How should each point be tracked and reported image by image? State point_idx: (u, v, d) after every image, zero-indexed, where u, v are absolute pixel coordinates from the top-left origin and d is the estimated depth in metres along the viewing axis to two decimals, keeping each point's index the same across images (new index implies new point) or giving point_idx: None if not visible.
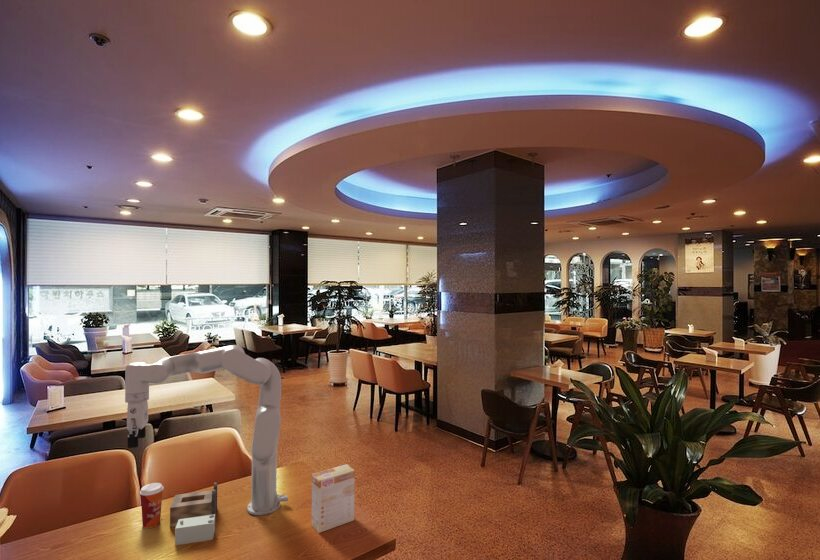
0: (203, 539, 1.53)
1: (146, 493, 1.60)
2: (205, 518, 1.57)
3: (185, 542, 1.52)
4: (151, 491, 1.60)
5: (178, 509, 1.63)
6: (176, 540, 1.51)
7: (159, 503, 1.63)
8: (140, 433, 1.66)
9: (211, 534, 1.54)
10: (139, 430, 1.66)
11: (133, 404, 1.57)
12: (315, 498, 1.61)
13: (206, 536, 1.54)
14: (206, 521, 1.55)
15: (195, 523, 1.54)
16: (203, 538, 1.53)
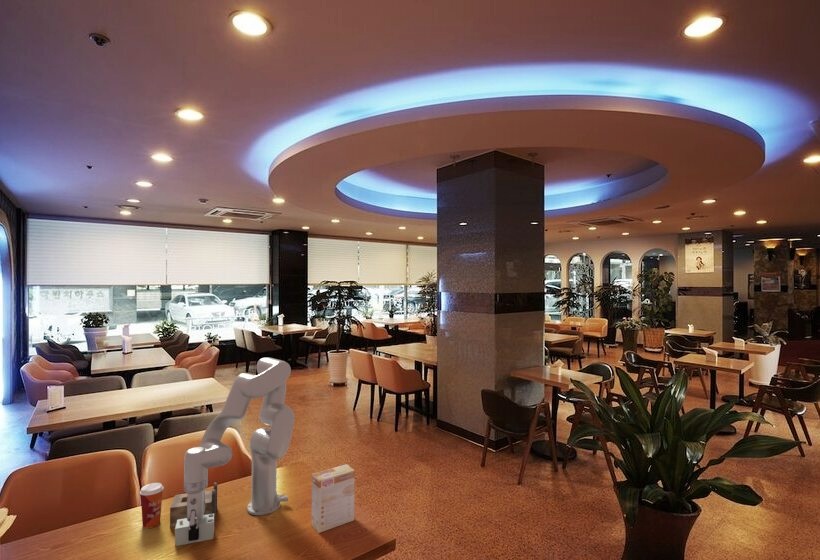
0: (203, 538, 1.53)
1: (146, 493, 1.60)
2: (204, 518, 1.57)
3: (185, 542, 1.51)
4: (151, 491, 1.60)
5: (178, 509, 1.63)
6: (176, 540, 1.50)
7: (159, 503, 1.63)
8: None
9: (211, 533, 1.54)
10: None
11: (193, 494, 1.51)
12: (315, 498, 1.61)
13: (206, 535, 1.54)
14: (206, 520, 1.55)
15: (195, 522, 1.54)
16: (203, 538, 1.53)
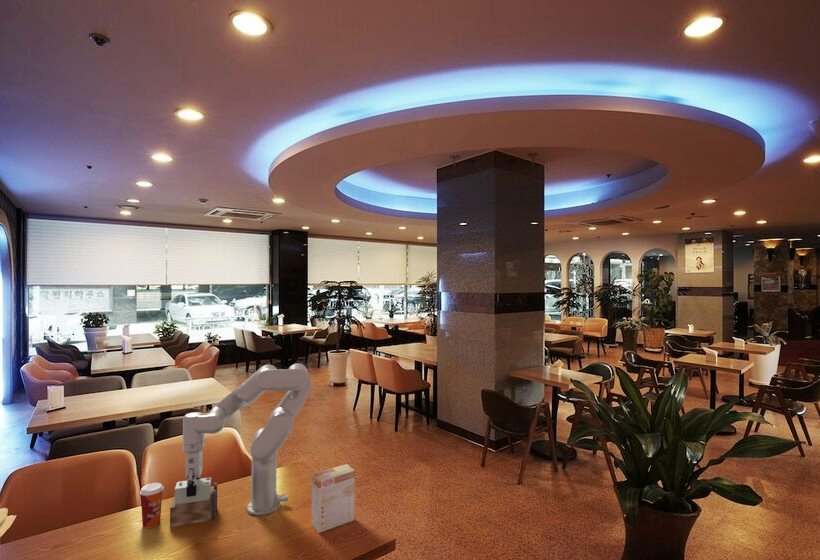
0: (201, 499, 1.67)
1: (146, 493, 1.60)
2: (202, 480, 1.70)
3: (184, 501, 1.65)
4: (151, 491, 1.60)
5: (178, 509, 1.63)
6: (176, 499, 1.64)
7: (159, 503, 1.63)
8: None
9: (208, 494, 1.68)
10: None
11: (191, 454, 1.64)
12: (315, 498, 1.61)
13: (203, 496, 1.67)
14: (203, 483, 1.69)
15: None
16: (200, 498, 1.67)
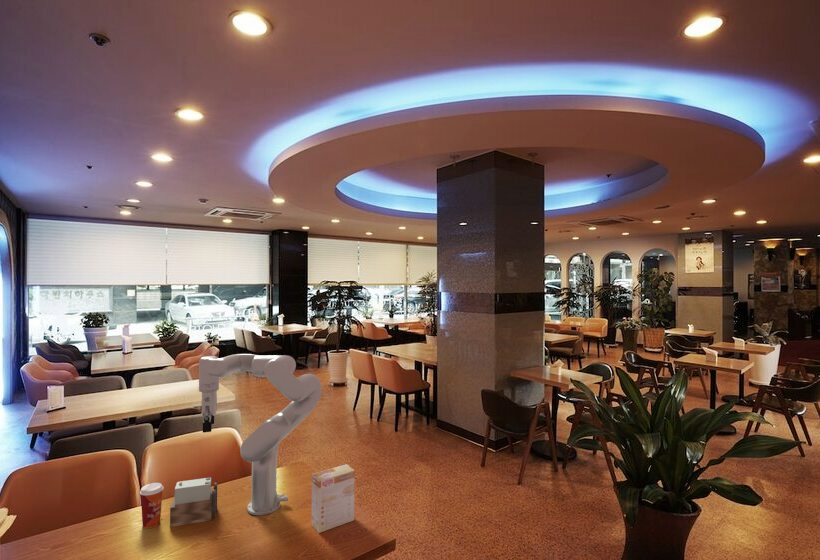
0: (201, 499, 1.67)
1: (146, 493, 1.60)
2: (202, 480, 1.70)
3: (184, 501, 1.65)
4: (151, 491, 1.60)
5: (178, 509, 1.63)
6: (176, 499, 1.64)
7: (159, 503, 1.63)
8: None
9: (208, 494, 1.68)
10: None
11: (207, 393, 1.76)
12: (315, 498, 1.61)
13: (203, 496, 1.67)
14: (203, 483, 1.69)
15: (193, 484, 1.67)
16: (200, 498, 1.67)
